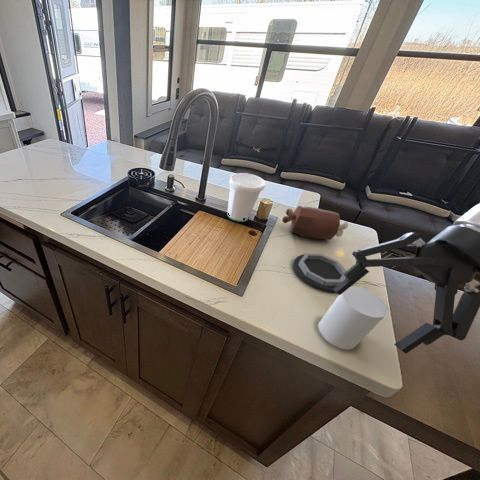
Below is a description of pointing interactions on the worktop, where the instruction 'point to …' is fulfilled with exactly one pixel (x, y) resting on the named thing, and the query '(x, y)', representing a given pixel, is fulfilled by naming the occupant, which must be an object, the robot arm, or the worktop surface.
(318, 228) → the meat
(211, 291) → the worktop surface
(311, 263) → the coaster
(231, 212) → the cup
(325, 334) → the white cylinder
